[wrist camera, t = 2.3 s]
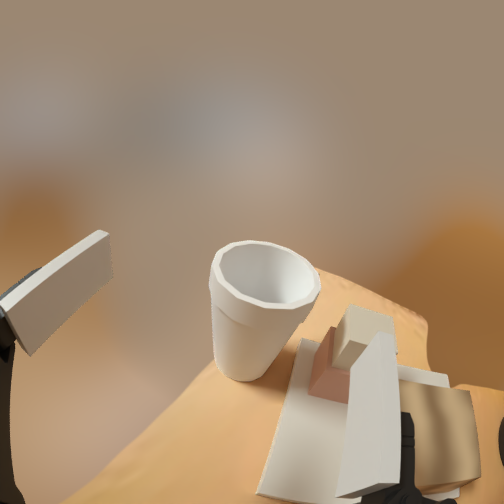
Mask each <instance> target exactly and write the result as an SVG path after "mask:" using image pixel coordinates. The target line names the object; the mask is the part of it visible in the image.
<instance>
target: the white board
mask: <svg viewBox="0 0 504 504" xmlns="http://www.w3.org/2000/svg"><path fill="white" fill-rule="evenodd" d="M320 344H321V343H318V342H314V341H311V340H308V339H305V338H301V340H300V342H299V344H298V347H297V352H296V356H295V360H294V364H293V369H292V373H291V377H290V381H289V385H288V388H287V392H286V396H285V400H284V404H283V407H282V411H281V414H280V418H279V422H278V425H277V428H276V432H275V435H274V439H273V442H272V445H271V448H270V452H269V455H268V458H267V461H266V464H265V467H264V470H263V473H262V476H261V479H260V482H259V485H258V488H257V491H256V493H255V494H256V495H260V496H264V497H268V498H273V499H278V500H283V501H288V502H294V503H300V504H354V503H358V502H361V497H362V496H361V497H358V498H354V499H346V498H335V494H336V489H337V484H338V479H339V473H340V467H341V461H342V454H343V447H344V440H345V431H346V422H347V412H348V404H344V403H340V402H336V401H331V400H327V399H323V398H319V397H315V396H311V395H308V389H309V384H310V379H311V373H312V367H313V362H314V356H315V353H316V351H317V349H318V348H319V346H320ZM397 371H398V379H401V380H406V381H411V382H416V383H422V384H427V385H433V386H439V387H445V388H450V386H449V381H448V376H447V375H446V374H441V373H436V372H431V371H427V370H422V369H417V368H413V367H408V366H404V365H400V364H397ZM459 489H460V487H459V488H457V489H455V490H452V491H450V492H445V493H439V494H432V495H424V496H423V497H426V498H429V499H432V500H435V501H442V500H445V499H447V498H451V499H455V498H457V497H459Z"/></svg>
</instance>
